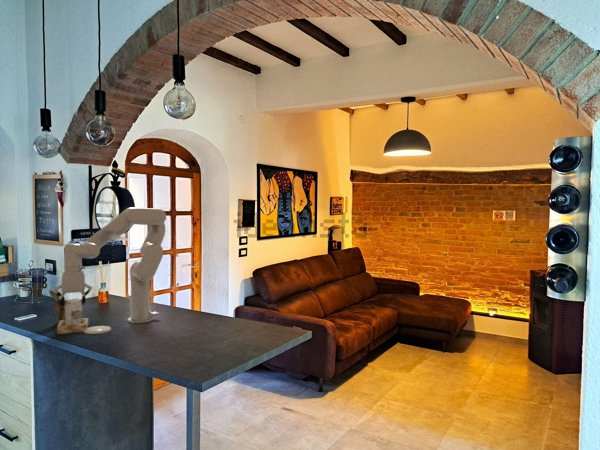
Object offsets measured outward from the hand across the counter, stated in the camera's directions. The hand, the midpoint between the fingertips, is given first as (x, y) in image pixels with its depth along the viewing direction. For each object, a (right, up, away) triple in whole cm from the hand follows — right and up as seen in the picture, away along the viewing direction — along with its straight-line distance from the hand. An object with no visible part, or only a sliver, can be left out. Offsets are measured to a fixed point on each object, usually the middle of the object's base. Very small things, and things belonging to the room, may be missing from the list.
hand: (73, 304), depth 212 cm
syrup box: (0, -12, +1) cm, 12 cm away
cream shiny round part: (+12, -12, -1) cm, 17 cm away
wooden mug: (-11, -12, +11) cm, 20 cm away
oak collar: (0, -12, 0) cm, 12 cm away
